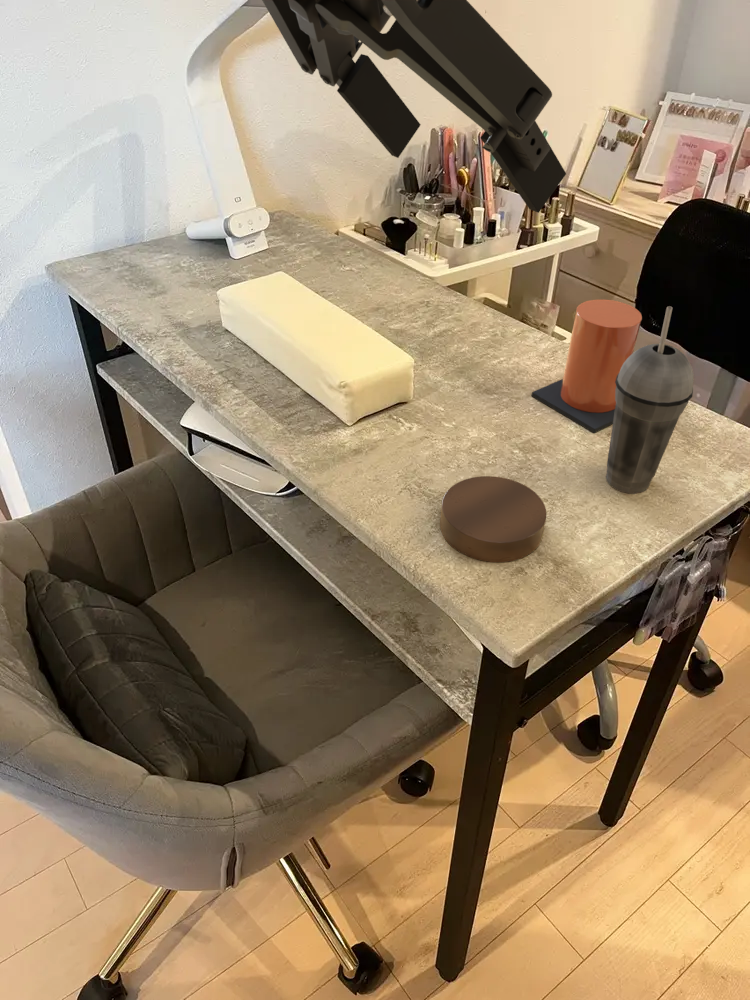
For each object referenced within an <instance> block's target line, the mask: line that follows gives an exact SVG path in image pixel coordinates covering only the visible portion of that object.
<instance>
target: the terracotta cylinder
mask: <svg viewBox="0 0 750 1000" xmlns="http://www.w3.org/2000/svg"><path fill="white" fill-rule="evenodd" d="M575 309H576V310H575V315H574V319H573V325H572V329H571V335H570V341H569V345H568V351H567V357H566V360H565V366H564V371H563V377H562V379H563V381H562V387H561V392H560V394H561V397H562V399H563V401H564V402H565V403H567V404H568V405H570V406H571V407H573V408H576V409H578V410H581V411H586V412H592V413H603V412H609V411H612V410H614V409H615V406H616V401H615V389H616V383H615V381H616V377H617V375H618V373H619V372H620V369H621V367H622V365H623V363H624V362H625V361H626V359H627V358H628V357H629V356H630V355H631V354H633V353H634V352H635V347H636V344H637V339H638V335H639V333H640V332H639V331H640V328H641V323H642V320H643V316H642V312H640V311H639V310H638V309H637V308H636V307H634V306H632V305H630V304H628V303H625V302H622V301H617V300H613V299H589V300H586V301H583V302H582V303H580V304H579V305H578V306H577V307H576V308H575Z"/></svg>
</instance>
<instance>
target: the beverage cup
mask: <svg viewBox="0 0 750 1000" xmlns="http://www.w3.org/2000/svg"><path fill="white" fill-rule="evenodd" d="M672 312H673V307H672V306H670V305H669V306H667V307H666V309H665V315H664V319H663V324H662V328H661V333H660V337H659V342H658V343H651V344H647V345H644V346H642V347H639V348H638V349H636V350H634V352H633V354H631V355H630V356H629V357H628V358H627V359H626V361H625V362H624V363H623V365H622V367H621V369H620V372H619V373H618V375H617V377H616V381H615V383H616V389H615V401H616V406H615V412H614V419H613V424H612V425H611V434H610V440H609V442H610V443H609V448H608V454H607V461H606V474H605V480H606V482H607V483H608V485H609V486H610V487H612V488H613V489H614V490H616V491H619V492H621V493H625V494H641V493H644V492H645V491H647V490H648V489H649V487H650V485H651V483H652V481H653V479H654V477H655V475H656V473H657V471H658V468H659V466H660V464H661V462H662V459H663V457H664V454H665V451H666V449H667V447H668V445H669V442H670V441H671V438H672V435H673V433H674V431H675V428H676V425H677V423H678V421H679V419H680V416H681V415H682V414H683V413H684V412H685V409H686V407H687V406H688V404H689V401H690V400H691V399H692V398H693V395H694V383H695V375H694V374H695V373H694V369H693V365H692V364H691V362H690V361H689V359H688V357H687V356H686V355H685V354H684V352H682V351H681V350H679V349H678V348H677V347H674V346H672V345H669V344H666V340H667V337H668V336H667V335H668V331H669V327H670V322H671V317H672Z"/></svg>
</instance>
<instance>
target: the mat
mask: <svg viewBox="0 0 750 1000" xmlns="http://www.w3.org/2000/svg"><path fill="white" fill-rule="evenodd" d="M562 381H563V378H562V379H559V380H557V381H555V382H552V383H550V384H548V385H545V386H543V387H540V388H538V389H536V390H534V391H532V392H531V397H532V398H534V399H536V400H537V401H539V402H541V403H542V404H544V405H546V406H547V407H549V408H551V409H553V410H554V411H556V412H557V413H559V414H561V415H563V416H565V417H566V418H568V419H569V420H571V421H572V422H575V423H576V424H577V425H580V426H581V427H583V428H585V429H586V430H588V431H589V432H591V433H593V434H595V433H597V432H600V431H601V430H603V429H605V428H607V427H609V426H613V419H614V412H615V409H614V410H612V411H609V412H603V413H592V412H586V411H581V410H578V409H576V408H573V407H571V406H570V405H568V404H567V403H565V402H564V401H563V399H562V397H561V394H560V392H561V387H562Z"/></svg>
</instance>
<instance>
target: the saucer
mask: <svg viewBox="0 0 750 1000" xmlns="http://www.w3.org/2000/svg"><path fill="white" fill-rule="evenodd" d="M441 500H442V501H441V508H440V519H439V522H440V523H439V527H440V531H441V533H442V536H443V538H444V539H445V541H446V542H447V543H448V544H449V545H450V546H451V547H452V548H453V549H455V550H456V551H457V552H458V553H461V554H463V555H465V556H467V557H469V558H472V559H474V560H478V561H482V562H489V563H507V562H513V561H517V560H521V559H523V558H525V557H527V556H529V555H531V554H532V553H533V552H534V551H535V550H537V548H539V546H540V545H541V542H542V539H543V536H544V532H545V531H544V530H545V526H546V521H547V516H548V515H547V507H546V505H545V503H544V501H543V500H542V498H541V497H540V496H539V495H538V494H537V493H536V492H535V491H534V490H532V489H531V488H530V487H529V486H527V485H525V484H523V483H521V482H519V481H516V480H513V479H511V478H507V477H501V476H494V475H493V476H492V475H482V476H474V477H469V478H466V479H463V480H460V481H458V482H457V483H454V484H453V485H452V486H450V487H449V488H448V490H446V491H445V493H444V495H443V497H442V499H441Z"/></svg>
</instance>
